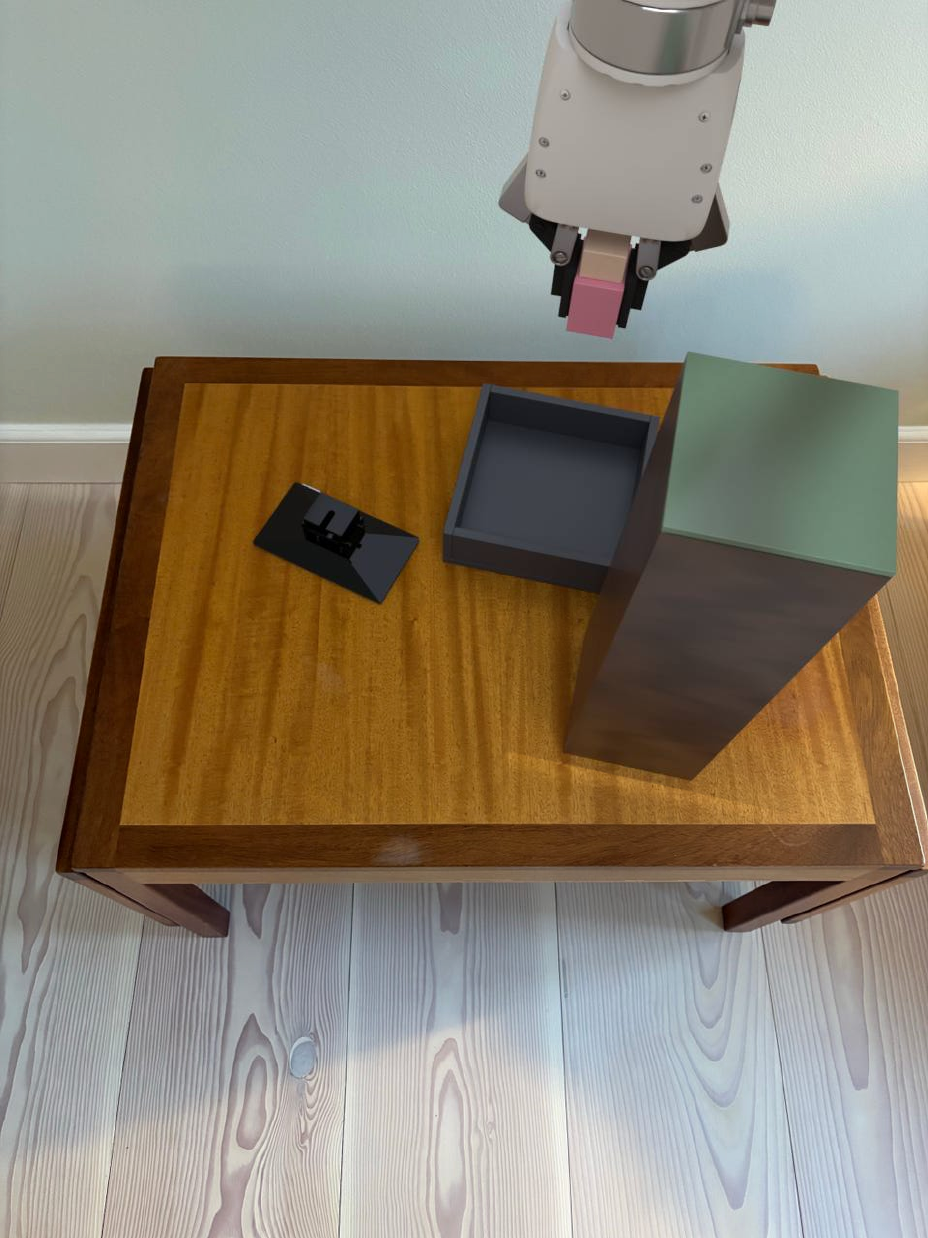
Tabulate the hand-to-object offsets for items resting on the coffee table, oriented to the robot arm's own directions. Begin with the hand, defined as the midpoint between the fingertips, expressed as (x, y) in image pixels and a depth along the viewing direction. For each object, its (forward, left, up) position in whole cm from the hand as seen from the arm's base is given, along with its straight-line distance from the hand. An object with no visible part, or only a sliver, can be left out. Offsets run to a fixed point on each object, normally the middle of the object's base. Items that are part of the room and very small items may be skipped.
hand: (595, 304), depth 57 cm
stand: (-10, +17, -24) cm, 31 cm away
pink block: (0, 0, -1) cm, 1 cm away
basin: (0, 0, -24) cm, 24 cm away
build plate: (+17, +8, -24) cm, 31 cm away
